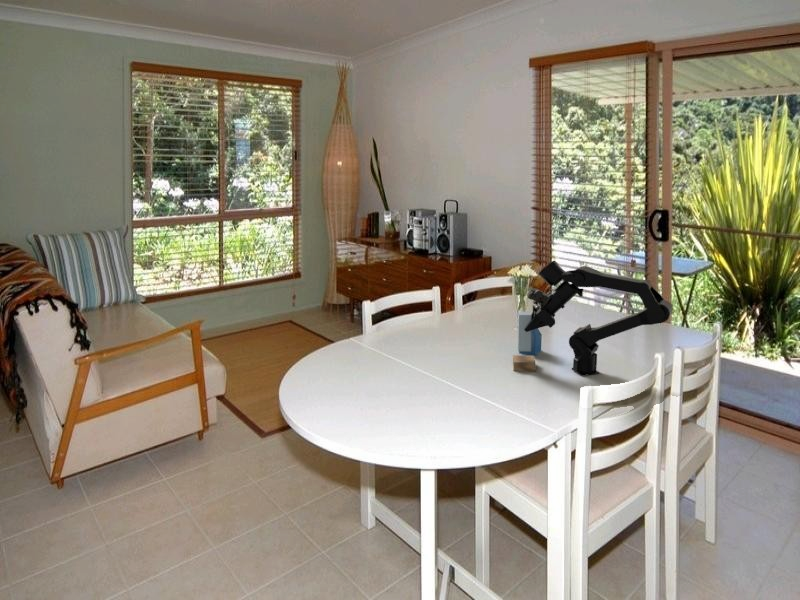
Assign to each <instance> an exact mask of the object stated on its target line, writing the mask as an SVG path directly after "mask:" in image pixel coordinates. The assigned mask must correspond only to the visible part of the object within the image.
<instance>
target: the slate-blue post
mask: <svg viewBox="0 0 800 600" xmlns="http://www.w3.org/2000/svg"><path fill="white" fill-rule="evenodd" d="M517 314H518V315H517V316H518V318H517V319H518V320H517V349H518V352H519V351H531V331H528V332H526V331H525V330H524V329H525V328H526V327H527V325H528V324H529V323H530V322H531V314H532V312H531V311H518V313H517Z"/></svg>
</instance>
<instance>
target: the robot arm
mask: <svg viewBox="0 0 800 600" xmlns="http://www.w3.org/2000/svg"><path fill="white" fill-rule="evenodd" d="M538 276H539V277H540V278H541V279H542V280H543V281H544V282H545V283H546V284H547V285H549V287H553V286H554V287H556V288H555V289H554V290H552V291H548V292H544V291H542V290H541V289H538V288H535V287H534V286H530V288H529V290H528V292H527V295H526V296H527V299H529V300H531V301H532V300H533V301H532V303H533V304H534V305H532V312H531V322H530V323H529V324H528V325H527V327H526V328H525V329H524V330H525V331H526V332H528V331H531V330H534V329H537V328H538V329H540V328H544V327H549V328H553V326H555V325H556V319H555V316H556V313H558V312H559V311H560V310H561V309H564V308H565V307H566V306H565V305H567V303H569V301H570V300H572V299H573V298H574V297H575V296H576V295H578V297H580V298H582V297H584V294H583V293H584V288H596V287H597V288H605V289H610V290H615V291H621V292H625V293H630V294H631V293H632V294H636V295H638V297H639V298H640V300H641V302H642V304H643V305H644V307H645V308H642V309H641V310H640V311H638V312H636V313H632V314H630V315H627V316H624V317H622V318H619V319H616V320H614V321H611V322H608V323H606V324H605V323H604V324H603V325H601V326H597V327H592V325H591V323H589V324H587V325H585V326H582V327H578V328H577V329H576V330H575V331H574V332H573V334H572V335H571V336H569V339H568V344H569V346H570V348H571V349H572V350H573V354H574V358H573V362H572V366H573V367H571V370H572V371H573V370H574V371H573V372H575V373H576V372H577V374H578V375H579V376H581V375H584V376H590V375H591V374H592V375H597V374H600V372H599V371H598V370H597V363H598V362H597V361H598V354H597V353H596V352H597V350H598V348H599V344H598V343H597V342H599V341H601V340H603V339H606V338H610V337H612V336H615V335H618V334H621V333H623V332H627V331H629V330H633V329H635V328H637V327H641V326H648V325H649V326H651V325H657V324H663V323H665V322H667V321H668V320H669V319H670V317H671V316H672V313H673V311H674V308H673V305H672V304H671V302H670V301H668V300H666V299H665V298H663V295H662V294H661V293H660V292H658V291H657V290H656V288H654V286H653V285H652V284H651V282H649V280H645V279H644V280H639V279H636V278H635V279H634V278H631V277H630V278H629V277H624V276H619V275H618V276H617V275H612V274H607V273H603V272H601V271H599V270H597V269H595V268H592V267H589V266H586V265H585V266H584V265H582V266H579V267H577V268H576V269H573V270H572V269H571V270H567V271H565V270H564V268H562V267H561V266H560V265H559V264H558V262H557V261H556V260H552V261H551V262H550V263H549V264H547V265H546V266H545V267H542V269H541V270H540V271H539V272H538ZM562 281H563V282H562Z"/></svg>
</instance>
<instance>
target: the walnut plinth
mask: <svg viewBox="0 0 800 600" xmlns="http://www.w3.org/2000/svg"><path fill="white" fill-rule="evenodd" d="M512 367H513V371H515V372H518V371H519V372H536V360H535V356H534V355H527V354H522V355H520V354H519V355H517V354H516V355H515V354H513V355H512Z"/></svg>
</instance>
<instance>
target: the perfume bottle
mask: <svg viewBox="0 0 800 600" xmlns="http://www.w3.org/2000/svg"><path fill="white" fill-rule="evenodd" d="M542 336H543V335H542V333H541V331H540V330H539V328H537V329H534V330H531V351H518V354H522V355H527V356H534V357H536V356H537V355H538V354H539V353H541V352H542Z"/></svg>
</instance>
